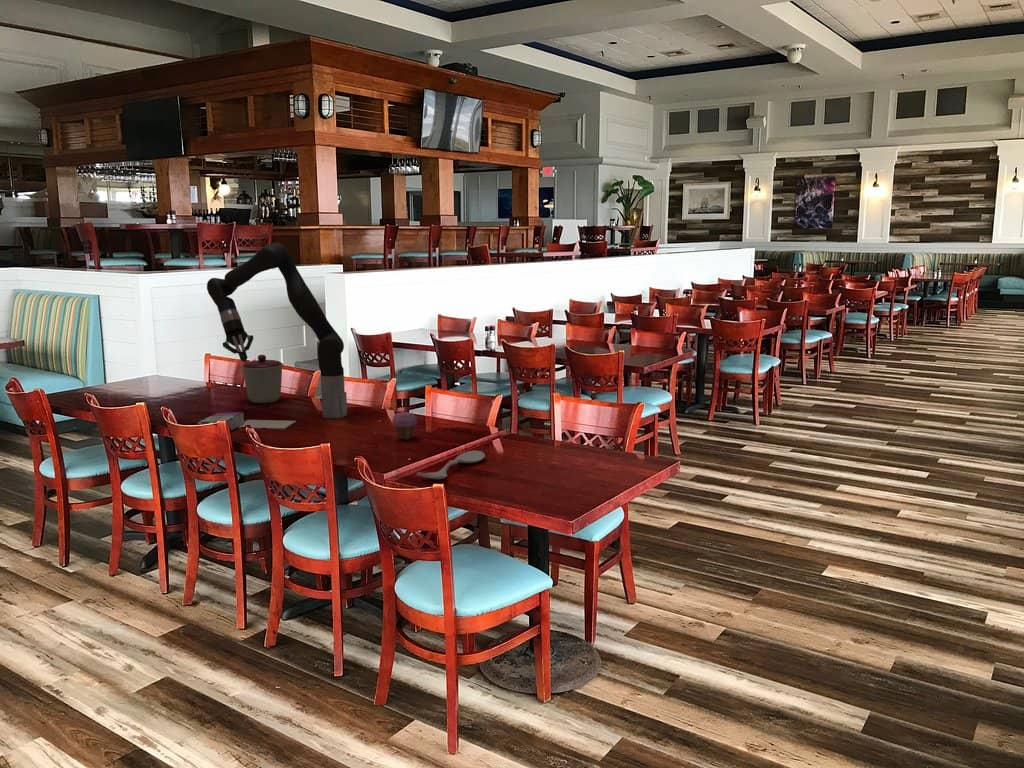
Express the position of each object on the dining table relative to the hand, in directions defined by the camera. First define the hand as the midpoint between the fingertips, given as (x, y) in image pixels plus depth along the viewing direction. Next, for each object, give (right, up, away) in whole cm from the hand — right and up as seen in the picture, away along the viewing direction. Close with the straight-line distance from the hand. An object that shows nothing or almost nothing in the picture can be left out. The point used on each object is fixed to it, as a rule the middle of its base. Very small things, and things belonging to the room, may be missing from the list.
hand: (244, 360), depth 332 cm
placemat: (+11, -25, -9) cm, 29 cm away
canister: (-2, -17, +35) cm, 39 cm away
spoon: (+90, -37, -71) cm, 120 cm away
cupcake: (+69, -30, -32) cm, 82 cm away
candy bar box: (-3, -23, -8) cm, 24 cm away
